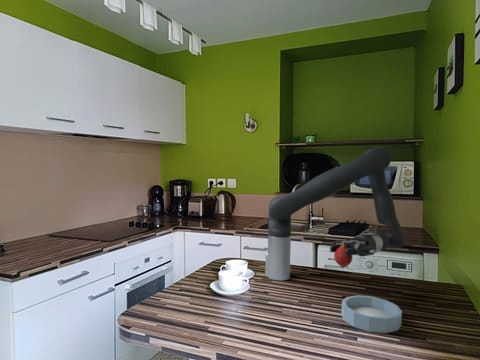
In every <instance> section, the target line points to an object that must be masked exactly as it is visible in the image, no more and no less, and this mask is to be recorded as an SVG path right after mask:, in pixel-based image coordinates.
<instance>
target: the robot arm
mask: <svg viewBox="0 0 480 360" xmlns="http://www.w3.org/2000/svg"><path fill="white" fill-rule="evenodd" d="M391 162H392V154H391V152H390V151H389V150H388V149H387V148H385V147H379V146H376V147H372V148H369V149H367V150H366V151H365V152H364V153H363V154H362V155H361V156H360V157H358V158H356V159H354V160H353V161H351V162H348V163H345V164H342V165H340V166H337V167H333V168H331V169H329V170H327V171H325V172H323V173H321V174H319V175H317V176H315V177H314V178H312V179H311V180H309V181H307V182H306V183H305V184H303V185H302V186H300V187H299V188H297V189H296V190H293V191H291V192H289V193H287V194H283V195H276V196H274V197H273V198H271V200H270V202H269V205H268V225H267V226H268V227H267V228H268V229H267V231H268V232H267V233H268V234H267V236H268V237H267V252H266V253H265V271H264V273H265V275H264V276H265V277H267V278H268V279H270V280H274V281H287V280H289V279H291V277H290V276H291V250H292V249H291V247H292V246H291V245H292V244H291V242H292V240H291V239H292V215H294V214H295V213H297V212H299V210H301V209H303V208H305V207H307V206H310V205H311V204H315V203H317V202H319V201H323V200H324V199H326V198H329V197H331V196H333V195H335V194H337V193H339V192H340V191H343V190H344V189H346V188H348V187H349V186H351V185H352V184H354V183H356V182H357V181H359V180H362V179H363V178H365V177H367V179H368V181H369V185H370V189H371V193H372V199H373V202H374V208H375V214H376V220H377V222H378V224H381V225H384V226H387V227H388V229H387V228H386V229H385V228H384V229H378V230H377V231H375V232H366V233H362V234H357V235H354V237H353V238H352V239H350V240H347V241H346V240H344V241H343V240H342V239H338V240H335V241H333V242H332V245H330V247H329V251H330V253H335V251H336V250H337V249H338V248H339V247H341V245H342V244H344V245H345V246H346V247H347V248H348V249H346V256H351V255H352V256H358V257H366V256H373V255H375V254H377V253H378V252H382V251H385V250H387V248H391V249H393V248H394V249H401V248H402V247H403V248H404V246H405V244H406V240H407V239H406V233H405V231H404V230H403V228H402V226H401V224H400V221H399V219H398V218H397V213H396V208H395V203H394V200H393V196H392V194H391V192H390V189H389V186H388V183H387V179H386V172H385V171H386V169H387V168H388V167H389V166H390V164H391Z"/></svg>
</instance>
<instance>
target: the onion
mask: <svg viewBox="0 0 480 360" xmlns="http://www.w3.org/2000/svg"><path fill="white" fill-rule="evenodd" d="M346 249H348V248H347V247H346V246H345V245H344V244H342V245H341V247H339V248H338V249H337V250H336V251H335V252H334V255H333V256H334V257H333V258H334V261H335V263H336V264H337V265H338V266H340V268H342V269H344V268H346V267H348V266H349V265H351V263H352V261H353V255H351V256H346Z"/></svg>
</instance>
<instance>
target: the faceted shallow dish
mask: <svg viewBox="0 0 480 360" xmlns="http://www.w3.org/2000/svg"><path fill="white" fill-rule="evenodd" d="M341 317H342V319H343V321H344V322H345V323H347V324H348V325H351V326H352V327H354V328H356V329H360V330H363V331H366V332H370V333H379V334H389V333H393V332H396V331H399V329H400V328H401V326H402V317H403V311H402V310H401V308H400V307H399V306H398V305H397V304H396V303H393V302H392V301H389V300H387V299H384V298H379V297H375V296H373V295H372V296H370V295H358V294H357V295H352V296H351V295H350V296H346V297H345V298H343V299H342V301H341Z"/></svg>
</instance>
